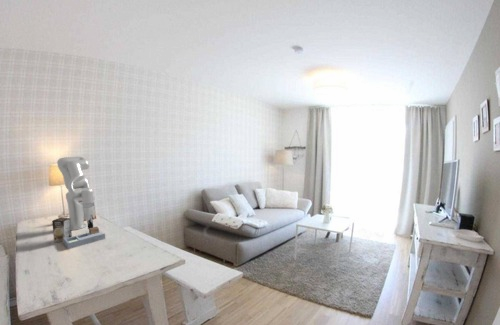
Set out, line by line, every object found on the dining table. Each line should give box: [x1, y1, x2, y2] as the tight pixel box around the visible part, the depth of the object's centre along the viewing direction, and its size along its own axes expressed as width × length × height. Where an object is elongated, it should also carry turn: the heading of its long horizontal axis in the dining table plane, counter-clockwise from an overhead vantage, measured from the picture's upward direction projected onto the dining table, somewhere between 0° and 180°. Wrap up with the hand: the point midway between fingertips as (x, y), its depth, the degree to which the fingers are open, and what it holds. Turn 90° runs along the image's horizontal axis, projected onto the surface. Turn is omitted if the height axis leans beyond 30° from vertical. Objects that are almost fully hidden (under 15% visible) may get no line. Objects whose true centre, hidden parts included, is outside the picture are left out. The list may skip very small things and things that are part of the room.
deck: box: [62, 230, 106, 250], centre depth 171 cm, size 16×22×4 cm
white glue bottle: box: [79, 198, 97, 221], centre depth 222 cm, size 14×6×21 cm, turn 125°
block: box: [88, 226, 100, 234], centre depth 178 cm, size 5×5×4 cm
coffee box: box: [51, 217, 73, 243], centre depth 172 cm, size 9×6×16 cm
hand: (90, 228), depth 184 cm, fingers closed
